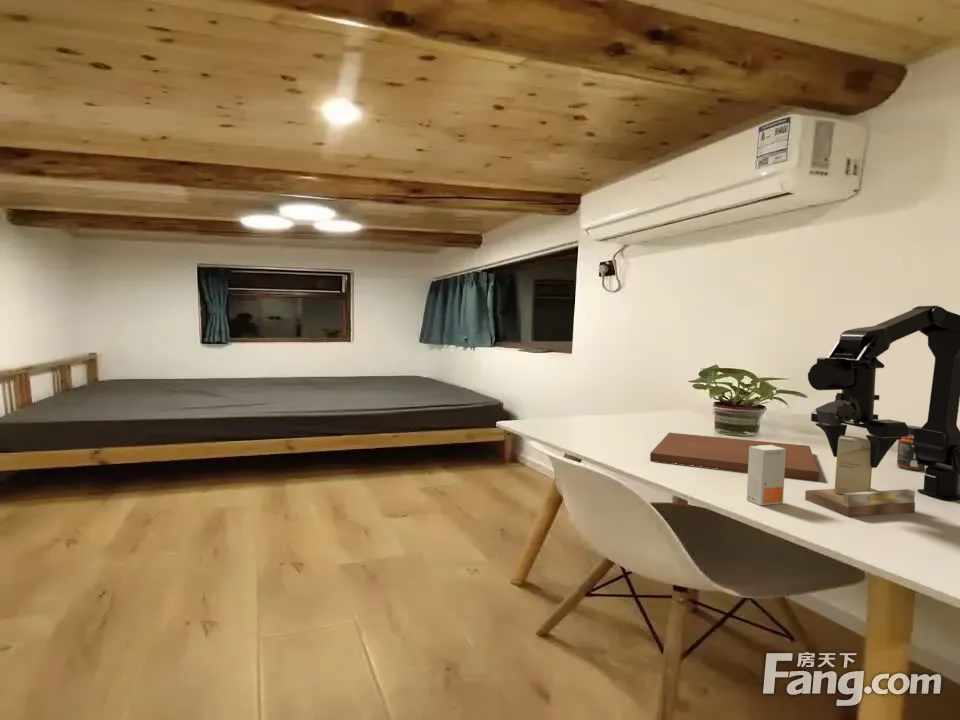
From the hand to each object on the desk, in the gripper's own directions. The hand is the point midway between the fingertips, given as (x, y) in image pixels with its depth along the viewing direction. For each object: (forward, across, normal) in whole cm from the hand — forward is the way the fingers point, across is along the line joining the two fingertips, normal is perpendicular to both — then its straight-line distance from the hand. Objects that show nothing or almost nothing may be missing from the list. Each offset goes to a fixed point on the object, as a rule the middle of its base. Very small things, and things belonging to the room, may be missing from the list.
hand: (854, 462), depth 116 cm
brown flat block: (+9, +2, 0) cm, 9 cm away
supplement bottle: (+9, -22, +41) cm, 47 cm away
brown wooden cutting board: (+10, -41, +1) cm, 42 cm away
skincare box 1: (+9, -4, -18) cm, 21 cm away
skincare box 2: (+7, 0, 0) cm, 7 cm away
